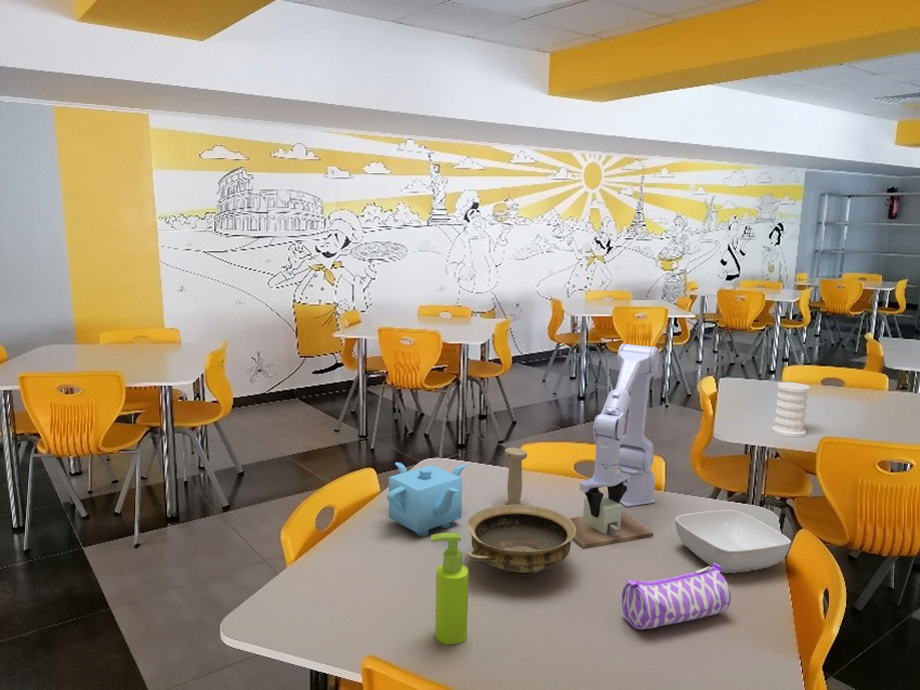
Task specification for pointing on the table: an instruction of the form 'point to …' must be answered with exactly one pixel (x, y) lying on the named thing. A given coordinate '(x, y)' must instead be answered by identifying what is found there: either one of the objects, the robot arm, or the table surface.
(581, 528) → the cleat board
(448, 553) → the soap dispenser
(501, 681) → the table surface
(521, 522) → the ceramic bowl
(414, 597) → the table surface
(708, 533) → the square bowl
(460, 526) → the table surface
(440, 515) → the teakettle
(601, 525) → the cabinet block
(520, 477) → the handle
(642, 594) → the pencil case
